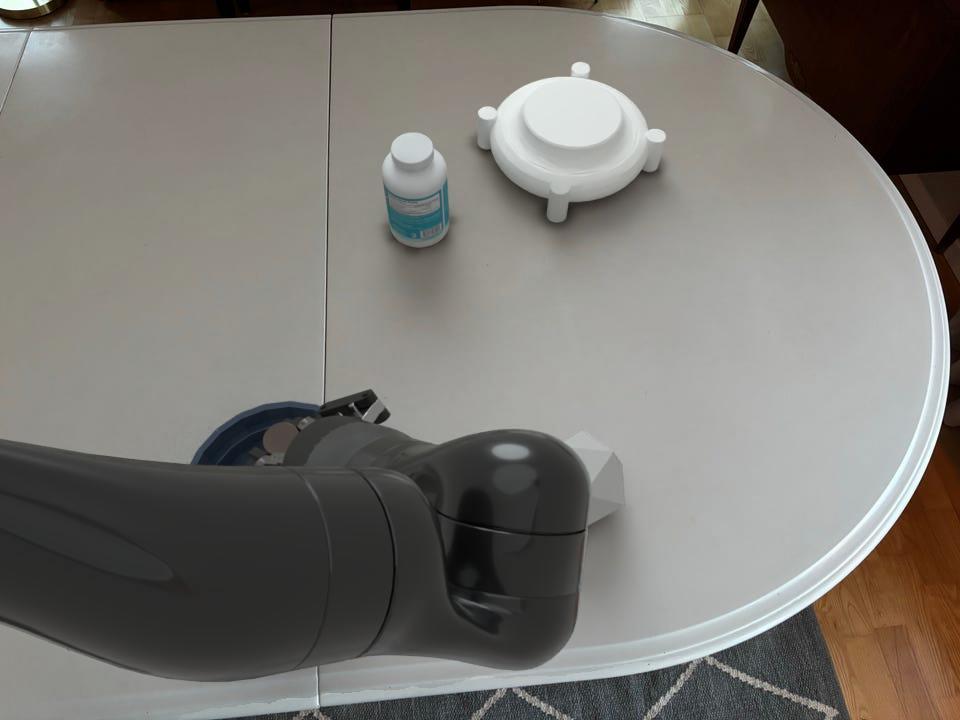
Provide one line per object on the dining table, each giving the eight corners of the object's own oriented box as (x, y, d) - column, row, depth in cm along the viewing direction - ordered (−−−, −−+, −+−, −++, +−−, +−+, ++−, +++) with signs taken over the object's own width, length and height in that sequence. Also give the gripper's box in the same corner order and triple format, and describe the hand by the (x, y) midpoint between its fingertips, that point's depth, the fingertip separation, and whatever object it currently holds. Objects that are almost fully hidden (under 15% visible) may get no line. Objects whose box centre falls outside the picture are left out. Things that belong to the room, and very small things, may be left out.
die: (517, 471, 82) (516, 499, 73) (574, 408, 81) (581, 427, 71) (578, 524, 83) (585, 559, 73) (636, 462, 82) (652, 489, 72)
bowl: (281, 640, 73) (269, 628, 69) (157, 512, 79) (139, 494, 75) (418, 498, 80) (415, 479, 76) (295, 391, 86) (285, 368, 82)
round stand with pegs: (460, 209, 100) (460, 168, 94) (493, 81, 112) (494, 38, 106) (651, 236, 98) (663, 197, 92) (663, 103, 110) (674, 60, 104)
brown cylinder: (304, 508, 68) (279, 462, 59) (283, 488, 69) (254, 440, 60) (328, 485, 69) (307, 437, 60) (306, 466, 70) (282, 415, 61)
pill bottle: (410, 196, 101) (402, 114, 89) (460, 218, 99) (458, 137, 87) (378, 236, 97) (365, 156, 86) (429, 259, 96) (423, 181, 84)
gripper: (404, 364, 51) (310, 353, 66) (235, 521, 46) (173, 472, 60) (466, 447, 54) (363, 420, 68) (314, 605, 48) (237, 538, 63)
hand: (274, 444), depth 64 cm, fingers closed on brown cylinder, 3 cm apart
